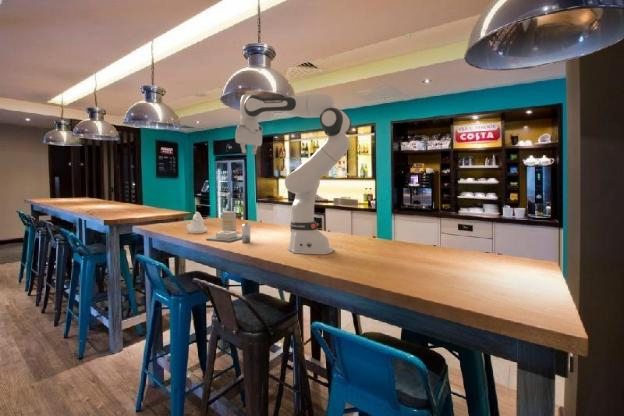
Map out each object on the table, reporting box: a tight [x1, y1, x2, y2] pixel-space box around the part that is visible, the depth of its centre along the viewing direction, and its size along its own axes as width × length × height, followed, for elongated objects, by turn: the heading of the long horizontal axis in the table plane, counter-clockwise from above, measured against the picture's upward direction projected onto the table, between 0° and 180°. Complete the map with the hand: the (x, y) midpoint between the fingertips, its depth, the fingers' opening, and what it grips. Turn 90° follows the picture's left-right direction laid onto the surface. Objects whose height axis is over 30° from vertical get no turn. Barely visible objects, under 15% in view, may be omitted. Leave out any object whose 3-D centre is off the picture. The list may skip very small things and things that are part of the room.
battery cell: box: [241, 222, 251, 244], centre depth 194 cm, size 4×4×11 cm
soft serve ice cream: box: [186, 211, 208, 234], centre depth 229 cm, size 12×15×14 cm
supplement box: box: [221, 210, 237, 232], centre depth 233 cm, size 8×5×13 cm, turn 84°
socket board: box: [205, 230, 242, 243], centre depth 204 cm, size 16×16×4 cm
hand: (249, 153), depth 184 cm, fingers open, 8 cm apart
